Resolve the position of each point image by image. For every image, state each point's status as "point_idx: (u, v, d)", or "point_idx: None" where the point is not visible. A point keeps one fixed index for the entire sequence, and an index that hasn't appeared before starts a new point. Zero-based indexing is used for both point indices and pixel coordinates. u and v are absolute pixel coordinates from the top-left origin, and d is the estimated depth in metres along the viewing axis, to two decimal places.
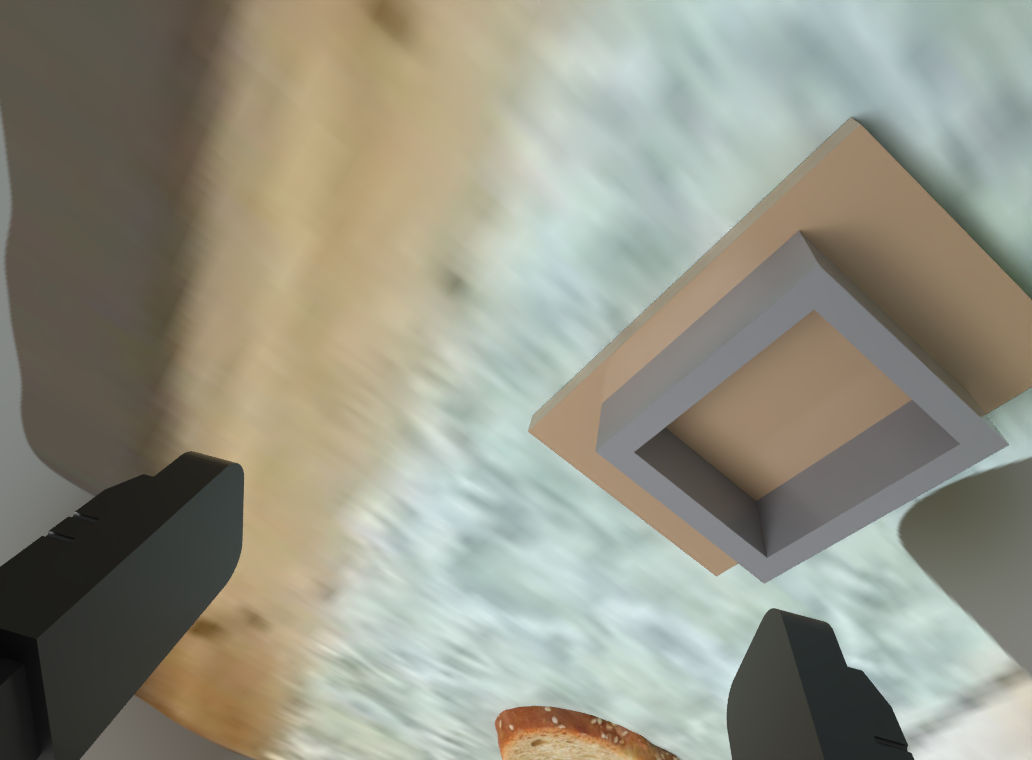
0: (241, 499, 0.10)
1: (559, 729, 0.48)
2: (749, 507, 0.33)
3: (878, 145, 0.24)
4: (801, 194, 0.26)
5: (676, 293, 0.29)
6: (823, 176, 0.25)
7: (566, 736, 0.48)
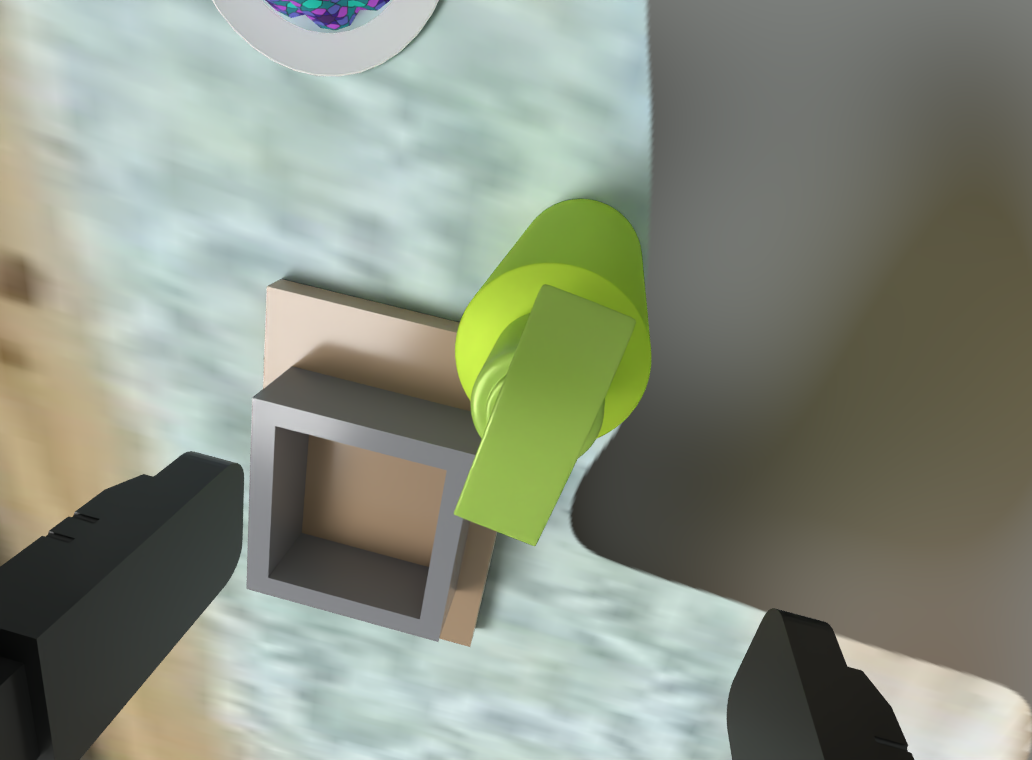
0: (241, 499, 0.10)
1: None
2: (423, 578, 0.37)
3: (287, 292, 0.33)
4: (273, 343, 0.34)
5: None
6: (275, 326, 0.33)
7: None
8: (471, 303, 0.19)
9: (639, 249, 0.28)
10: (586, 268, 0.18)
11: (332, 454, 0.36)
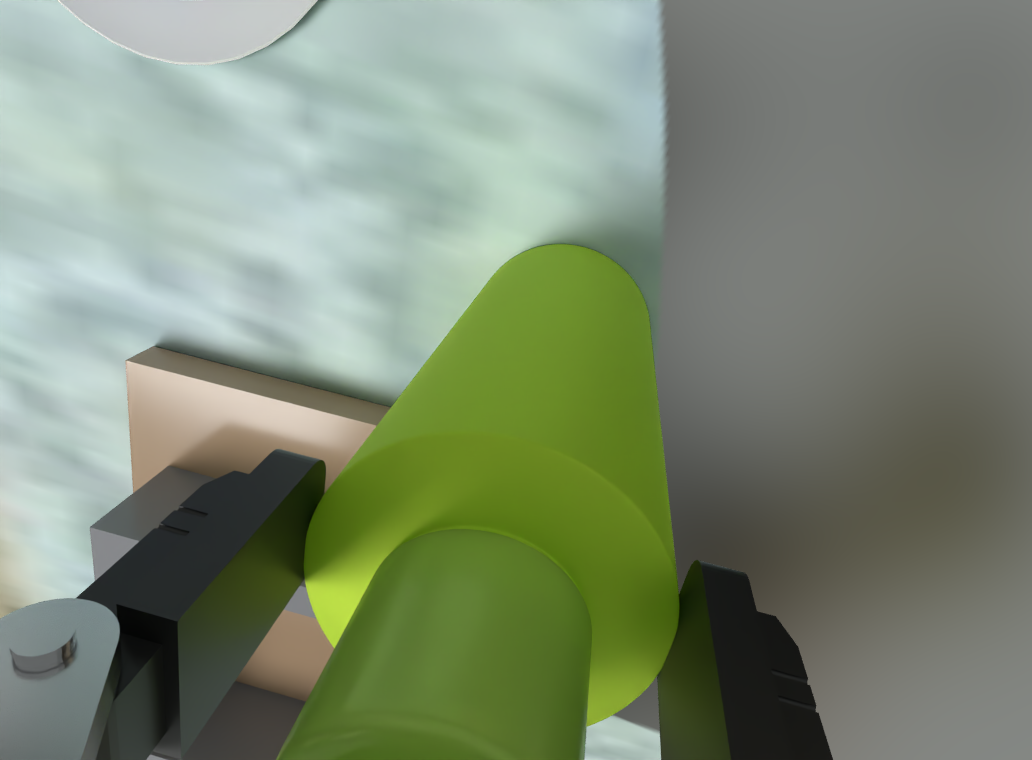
0: (322, 494, 0.10)
1: None
2: None
3: (153, 369, 0.23)
4: (141, 436, 0.25)
5: None
6: (141, 414, 0.24)
7: None
8: (325, 498, 0.10)
9: (647, 323, 0.19)
10: (548, 443, 0.09)
11: None
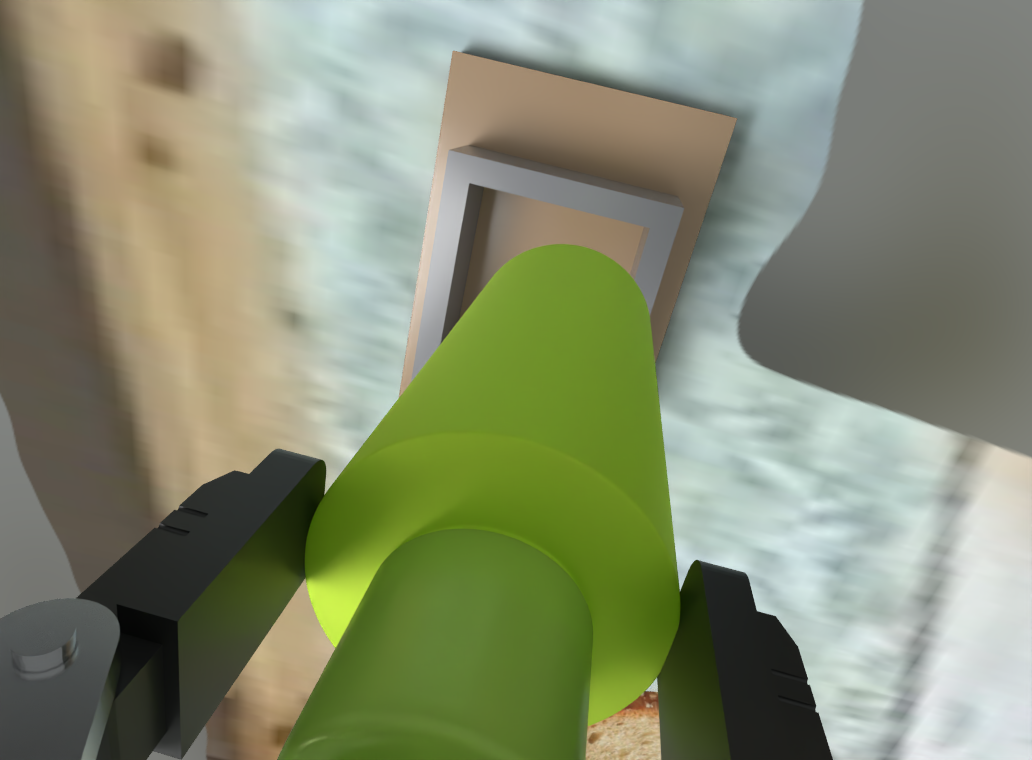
0: (322, 494, 0.10)
1: None
2: None
3: (474, 57, 0.31)
4: (451, 119, 0.33)
5: (424, 238, 0.35)
6: (456, 98, 0.32)
7: (614, 719, 0.47)
8: (326, 498, 0.10)
9: (648, 323, 0.19)
10: (550, 442, 0.09)
11: (499, 247, 0.35)
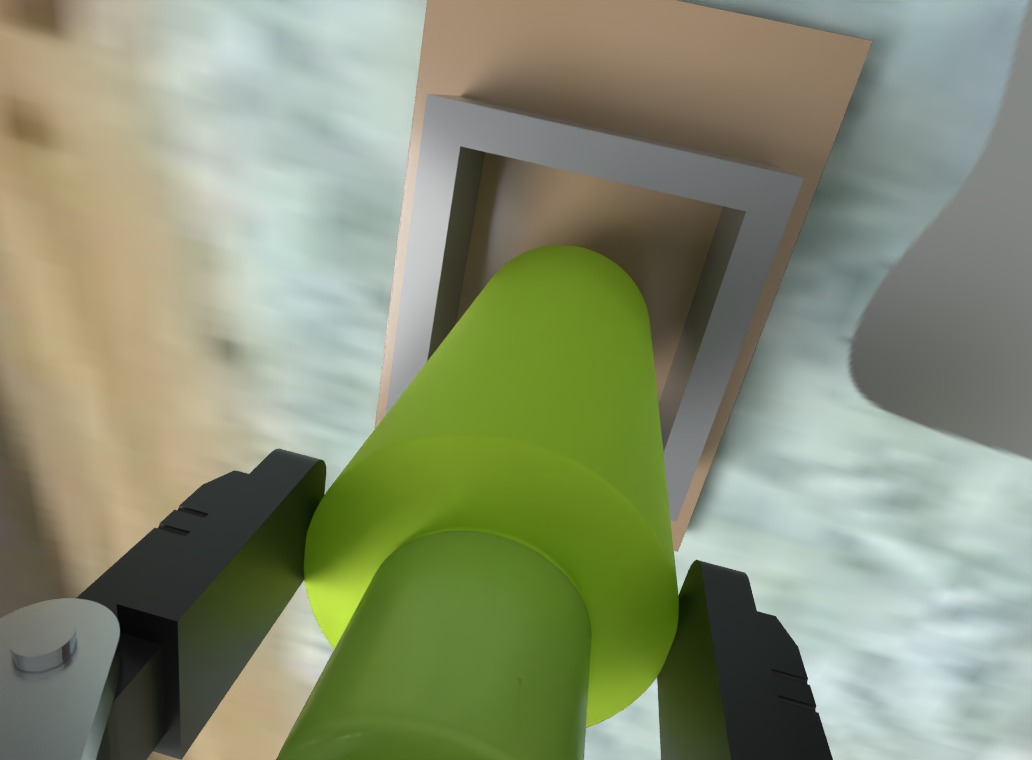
0: (322, 494, 0.10)
1: None
2: None
3: None
4: (434, 57, 0.22)
5: (399, 235, 0.25)
6: (440, 25, 0.22)
7: None
8: (325, 500, 0.10)
9: (647, 324, 0.19)
10: (548, 444, 0.09)
11: (507, 247, 0.24)
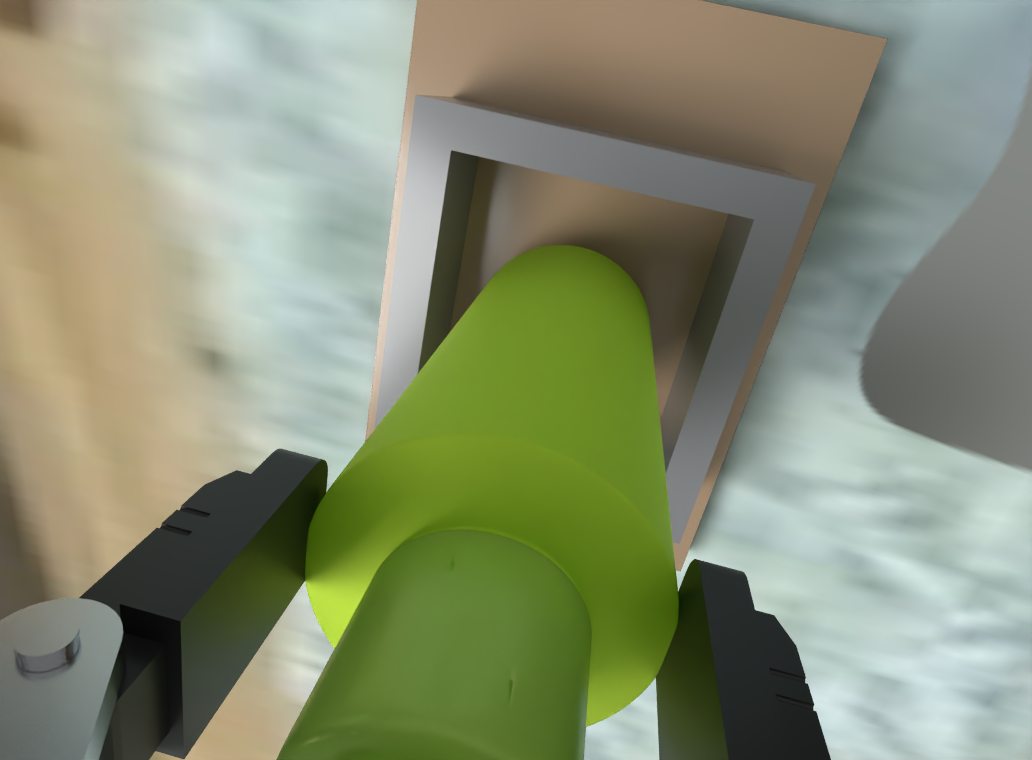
0: (324, 494, 0.10)
1: None
2: None
3: None
4: (425, 56, 0.21)
5: (389, 243, 0.24)
6: (431, 22, 0.21)
7: None
8: (325, 499, 0.10)
9: (647, 324, 0.19)
10: (548, 444, 0.09)
11: (502, 255, 0.23)
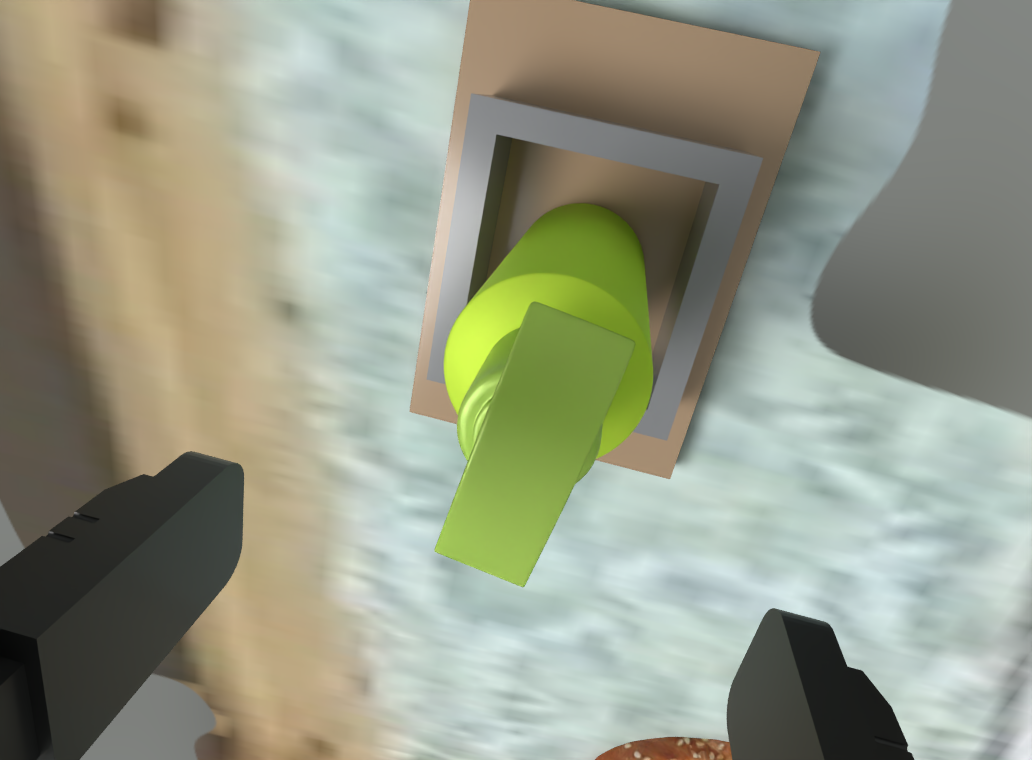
0: (241, 499, 0.10)
1: None
2: None
3: None
4: (471, 64, 0.27)
5: (439, 210, 0.30)
6: (477, 38, 0.27)
7: None
8: (461, 315, 0.18)
9: (641, 256, 0.27)
10: (584, 278, 0.17)
11: (529, 219, 0.29)
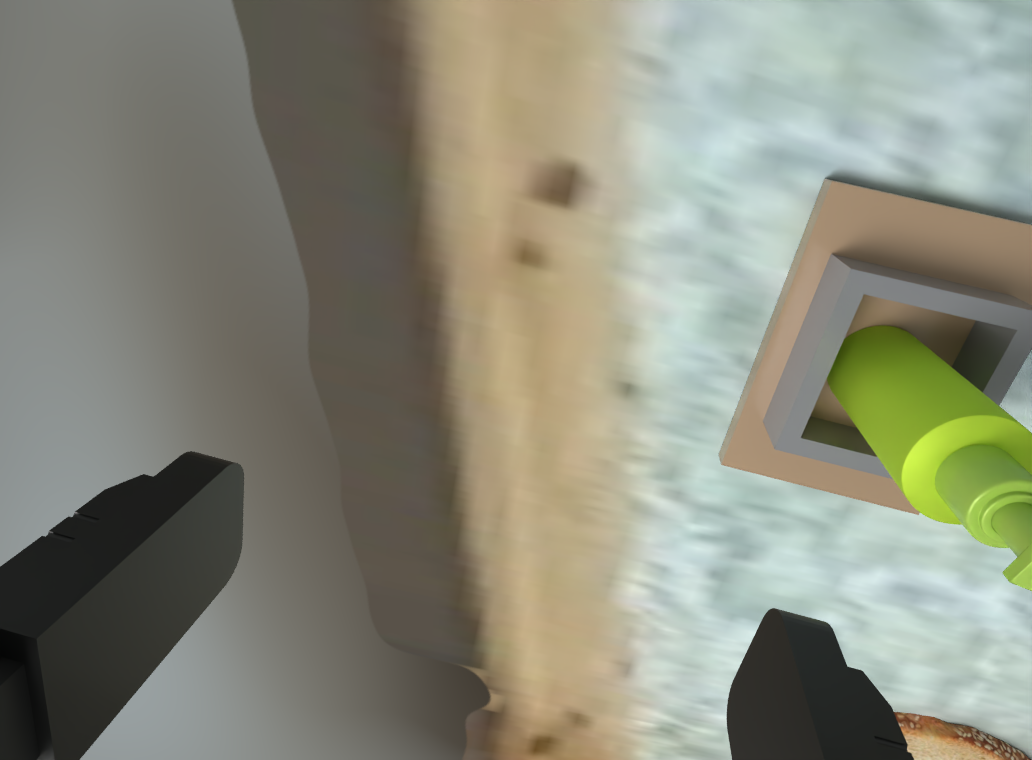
0: (241, 499, 0.10)
1: None
2: None
3: (849, 186, 0.38)
4: (819, 233, 0.40)
5: (774, 326, 0.42)
6: (827, 217, 0.39)
7: None
8: (925, 436, 0.30)
9: None
10: (1009, 418, 0.29)
11: None
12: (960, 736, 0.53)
